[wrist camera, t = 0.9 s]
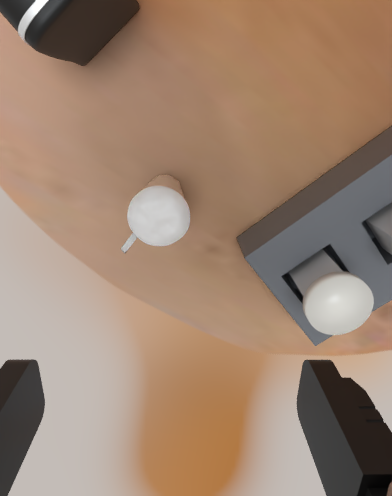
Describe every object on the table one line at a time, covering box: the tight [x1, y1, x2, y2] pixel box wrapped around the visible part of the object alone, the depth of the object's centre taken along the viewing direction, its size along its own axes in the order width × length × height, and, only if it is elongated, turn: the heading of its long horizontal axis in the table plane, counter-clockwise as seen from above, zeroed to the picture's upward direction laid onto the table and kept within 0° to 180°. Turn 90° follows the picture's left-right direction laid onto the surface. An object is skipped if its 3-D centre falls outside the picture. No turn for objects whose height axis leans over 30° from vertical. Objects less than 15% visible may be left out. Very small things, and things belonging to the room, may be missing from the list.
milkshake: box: [121, 175, 190, 253], centre depth 29 cm, size 5×5×10 cm
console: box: [237, 126, 392, 346], centre depth 32 cm, size 24×12×5 cm, turn 128°
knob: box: [288, 249, 374, 335], centre depth 30 cm, size 5×5×6 cm
